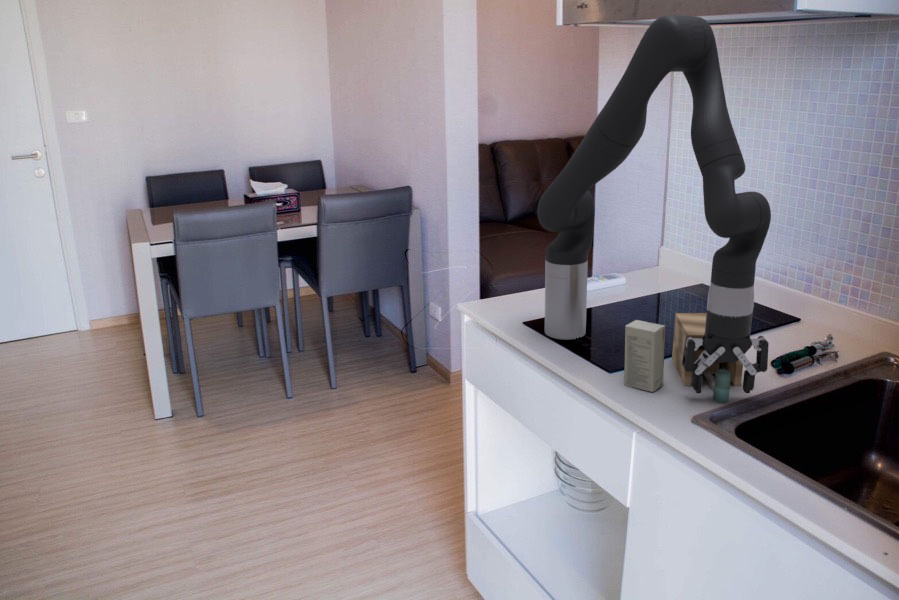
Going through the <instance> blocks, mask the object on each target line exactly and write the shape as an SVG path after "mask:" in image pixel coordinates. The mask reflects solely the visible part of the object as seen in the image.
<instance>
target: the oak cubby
mask: <svg viewBox="0 0 899 600" xmlns="http://www.w3.org/2000/svg"><path fill="white" fill-rule="evenodd" d="M706 313H707V312H675V314H674V324H673V325H674V326H673V338H672V339H673V340H672V353H671V354H672V355H671V361H672V362H673V365H674V366H675V369H676V371H677V373H678V375H679V377H680V379H681V381H682V383H683V385H684V386H692V385H691V383H692V372H690V371H689V372H687V371H685V369H684V367H683V365H682V360H683V353H684V346H685V339H686V337H687V336H691V337H692V338H699V339H702V338H703V336H704V334H705V324H706ZM719 365H720V366H721V367H722V369H726V370H729V371H730V372H731V380H730V382H731V383H732V384H733V386H734V387H736V386H737V387H738V386H742V378H743V370H744V369H743V367H744V365H743V364H742V363H741V361H740V360H738V361H736V362H735V363H729V362H723V363H720V364H719Z"/></svg>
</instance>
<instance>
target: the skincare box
mask: <svg viewBox="0 0 899 600" xmlns="http://www.w3.org/2000/svg"><path fill="white" fill-rule="evenodd" d="M624 336H625V338H624V370H623V371H624V372H623V374H624V376H623V377H624V378H623V379H624V381H623V383H624V385H625V386H629V387H632V388H636V389H639V390H642V391H647V392H650V393H654V392H655V391H657V390H658V389H659V388H661V387H662V386H663V385H664V369H665V368H664V367H665V366H664V364H665V363H664V362H665V342H666V341H665V339H666V325H663V324H661V323H660V324H658V323H655V322H650V321H649V322H648V321H644V320H640V319H635V320H633V321H631V322H629V323H627V324H625V327H624Z"/></svg>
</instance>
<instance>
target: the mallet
mask: <svg viewBox="0 0 899 600" xmlns="http://www.w3.org/2000/svg"><path fill="white" fill-rule="evenodd" d="M704 350H705V349H704V347H703V346H702V345H701V346H699V347H698V350H696V351H694V357H693V364H694V363H695V362H696V360H697V359H698V358H699V356H700V354H701V353H702V352H703V351H704ZM720 365H721V364H720V363H717V362H716V361H714V362H713V363H712V364H711V366H709V367H707V368H706V369H705V370H704V371H703V372H702V375H703V376H704V377H705V379H706V381H707V383H708V385H709V386H710V389H711V390H712V392H713V398H712V399H713V401H714V402H716V403H719V404H726V403H728V402H729V401H730V400H729V398H730V397H729V396H730V389H731V372H730V371H729V370H726V369H723V368H720ZM713 374H715V375H714V376H713Z"/></svg>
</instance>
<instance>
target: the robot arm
mask: <svg viewBox="0 0 899 600" xmlns="http://www.w3.org/2000/svg"><path fill="white" fill-rule="evenodd" d="M718 52H719V51H718V47H717V41H716V37H715V34H714V31H713V28H712V26H711V25H710V23H709V21H708V20H706V19H704V18H703V17H701V16H695V15H681V14H665V15H663V16H660V17H657V18H656V19H655V20H654V21H653V22H652V23H651V24H650V25H649V27H647V29H646V30H645V32H644V34H643V36H642V37H641V39H640V41H639V44H638V45H637V47H636V50H634V53H633V55H632V58H631V59H630V61H629V63H628V64H627V67H626V69H625V71H624V73H623V75H622V76H621V79H620V80H619V82H618V83H617V84H616V86H615V88H614V90H613V91H612V93H611V94H610V97H609V98H608V99H607V101H606V103H605V104H604V105H603V107H602V109H601V111H600V112H599V113H598V114H597V116H596V118H595V119H594V121H593V122H592V124H591V125H590V127H589V129H588V130H587V132H586V133H585V135H584V137H583V139H582V140H581V141H580V143H579V145H577V148H576V150H575V151H574V152H573V154H572V156H571V157H570V159H568V162H567V163H566V164H565V165H564V167H563V169H562V170H561V171H560V172H559V174H558V175H557V176H556V177H555V179H554V180H553V181H552V182H551V183H550V185H549V186H548V187H547V189H545V191H544V192H543V194H542V196H540V198H539V201H538V205H537V211H536V212H537V218H538V222H539V224H540V226H541V227H542V228H543V229H545V230H547V231H549V232H553V233H557V232H559V233H558V234H557V236H556V238H554V239H553V241H551V242H549V244H548V245H547V246H546V248H545V253H544V254H545V257H544V258H545V260H544V261H545V262H544V263H545V264H544V266H545V267H544V275H545V276H544V277H545V278H544V281H545V282H544V334H545V335H546V336H548V337H550V338H553V339H556V340H565V341H566V340H567V341H569V340H576V338H577V339H579V337H580V338H582V337H584V336H585V335H586V333H587V332H586V331H587V330H586V327H587V306H588V305H587V302H588V301H587V299H588V267H589V265H588V263H589V252H590V251H591V248H592V247H593V238H594V237H593V236H594V226H595V225H594V224H595V202H594V197H593V195H592V193H591V191H590V190H591V189H592V188H593V187H594V186H595V185H596V184H598V183H599V182H600V181H601V180H603V179H604V178H606V177H607V176H608V175H610V174H611V173H612V172H613V171H615V170H616V169H617V168H618V167H619V166H621V164H623V163H624V162H625V160H626V159H627V158H628V156H630V154H631V153H632V151H633V150H634V149H635V147H636V146H637V144H638V143H639V141H640V140H641V138H642V137H643V135H644V132H645V129H646V124H647V123H646V122H647V113H648V104H649V101H650V99H651V97H652V95H653V94H654V92H655V91H656V89H657V88H658V86H659V85H660V84H661V82H662V81H663V80H664V78H665V77H666V76H667V75H669V73H671V72H673V73H674V72H676V73H677V72H679V73H680V72H681V73H682V75H684V78H685V79H686V81H687V83H688V85H689V89H690V92H691V93H690V94H691V96H692V113H691V114H692V115H691V122H690V123H691V124H690V139H691V147H692V149H693V154H694V156H695V159H696V162H697V165H698V169H699V170H700V173H701V176H702V192H703V208H704V209H703V210H704V217H705V220H706V223H707V226H708V227H709V228H710V230H711V232H713V233H714V234H715V235H716V236H717V237H719V238H723V239H728V241H727V242H726V243H725V244H724V245H723V246H722V247H720V248H718V249H717V250H716V251H715V252H714V253H713V256H712V262H711V275H710V284H709V289H708V292H707V303H706V312H705V313H706V324H705V334H704V336H703V338H702V339H699V338H692V337H691V336H687V337H686V339H685V346H684V353H683V360H682V365H683V367H684V369H685V371H687V372H689V371H690V372H692V378H691V385H690V386H691V387H692V389H693V391H695V393H696V394H701V393H702V385H703V376H704V374H703V373H702V372H703V371H704V370H705V369H706V368H707V367H709V366H711V364H712V363H713V362H714V361H716V362H717V363H723V362H729V363H735V362H736V361H738V360H740V361H741V363H742V364H743V367H744V368H745V370H744V369H743V370H744V371H743V381H742V391H743V393H745V394H751V391H753V390H754V388H755V380H756V375H757V374H758V373H765V372H767V370H768V363H769V361H768V360H769V342H768V340H767V339H766V338H765V337H764V336H763V335H759V336H758V337H757V338H751V333H752V330H751V329H752V321H753V312H754V308H755V301H754V300H755V279H756V278H755V277H756V269H757V268H756V267H757V266H756V265H757V260H758V257H759V255H760V254H761V252H762V248H763V246H764V243H765V241H766V237H767V235H768V232H769V229H770V224H771V221H772V212H771V206H770V203H769V201H768V199H767V198H766V197H765V196H764V194H762V193H760V192H757V191H744V192H738V193H736V185H735V183H736V182H735V181H736V180H737V179H739V178H740V177H741V178H742V176H743V175H744V174H745V172H746V163H745V160H744V159H745V158H744V157H743V154H742V151H741V147H740V145H739V142H738V139H737V136H736V134H735V130H734V128H733V127H734V126H733V124H732V121H731V120H732V119H731V117H730V113H729V110H728V105H727V101H726V100H727V99H726V93H725V89H724V83H723V77H722V72H721V65H720V60H719V59H720V58H719V54H718ZM701 345H702V346H703V347H704V349H705V350H704V351H703V352H702V353H701V354H700V356H699V358H698V359H697V360H696V362H695V363H694V364H693V357H694V351H696V350H698V347H699V346H701ZM752 346H753V348H754V349H755V351H756V362H754V363H751V362H750V360H749V359H748V357H747V356H746V355H745V354H746V353H747V352H748V351H749V350H750V349H751V348H752Z"/></svg>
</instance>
